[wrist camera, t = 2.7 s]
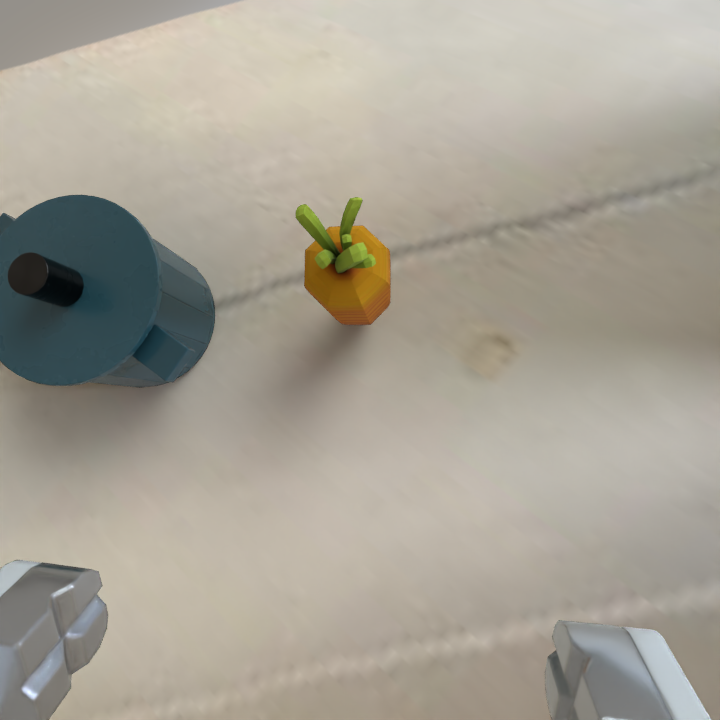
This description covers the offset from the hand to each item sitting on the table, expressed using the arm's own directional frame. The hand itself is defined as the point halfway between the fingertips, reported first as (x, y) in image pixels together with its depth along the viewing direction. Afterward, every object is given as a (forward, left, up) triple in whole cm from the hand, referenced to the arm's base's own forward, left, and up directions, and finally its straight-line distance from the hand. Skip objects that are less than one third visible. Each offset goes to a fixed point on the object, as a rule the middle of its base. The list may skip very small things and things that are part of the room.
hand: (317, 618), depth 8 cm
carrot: (-8, -8, -25) cm, 28 cm away
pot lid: (+2, -22, -17) cm, 28 cm away
